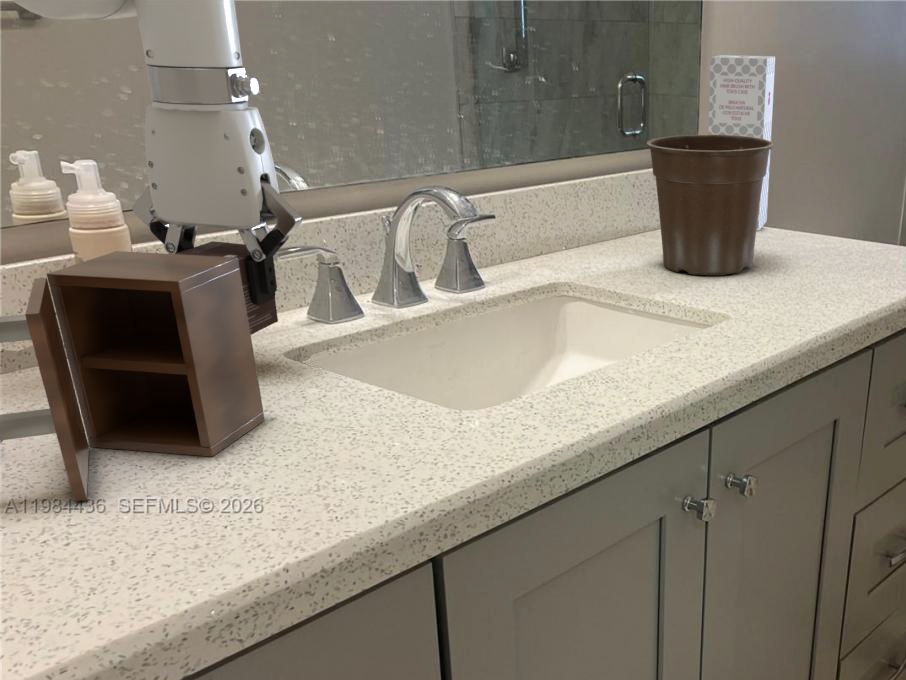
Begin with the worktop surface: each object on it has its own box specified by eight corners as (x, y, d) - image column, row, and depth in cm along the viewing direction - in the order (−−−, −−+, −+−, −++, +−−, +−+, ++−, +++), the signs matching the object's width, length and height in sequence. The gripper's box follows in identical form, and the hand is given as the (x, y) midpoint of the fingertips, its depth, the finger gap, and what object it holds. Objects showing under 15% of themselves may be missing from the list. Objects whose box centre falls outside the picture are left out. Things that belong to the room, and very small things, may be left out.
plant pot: (668, 284, 132) (670, 150, 125) (631, 256, 145) (631, 135, 138) (785, 276, 136) (793, 147, 129) (739, 250, 150) (744, 133, 143)
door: (-31, 518, 70) (-92, 324, 64) (-16, 462, 78) (-69, 286, 72) (87, 499, 72) (39, 312, 67) (88, 447, 81) (46, 277, 75)
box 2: (705, 227, 165) (710, 57, 155) (716, 218, 173) (721, 55, 162) (758, 230, 164) (766, 58, 153) (766, 221, 171) (775, 56, 160)
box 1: (223, 317, 100) (211, 240, 97) (280, 323, 99) (270, 245, 96) (184, 334, 95) (170, 253, 92) (244, 340, 94) (232, 259, 91)
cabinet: (212, 457, 80) (178, 281, 74) (89, 447, 81) (46, 273, 75) (265, 420, 87) (238, 257, 81) (151, 411, 88) (116, 250, 82)
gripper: (315, 91, 90) (336, 296, 98) (132, 81, 92) (166, 281, 100) (271, 98, 84) (297, 316, 91) (75, 86, 86) (117, 301, 93)
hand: (228, 296), depth 96 cm, fingers closed on box 1, 6 cm apart
